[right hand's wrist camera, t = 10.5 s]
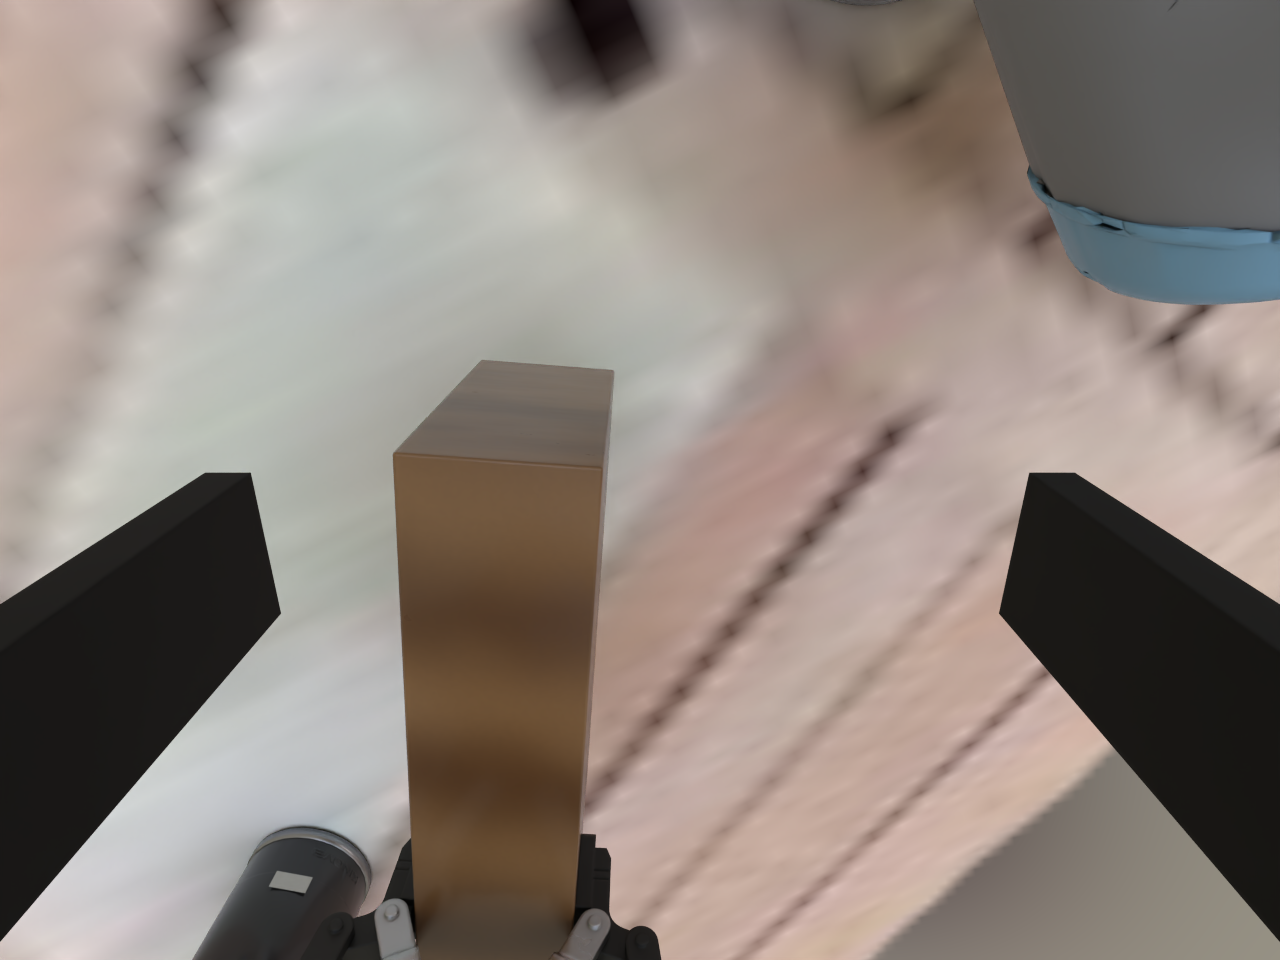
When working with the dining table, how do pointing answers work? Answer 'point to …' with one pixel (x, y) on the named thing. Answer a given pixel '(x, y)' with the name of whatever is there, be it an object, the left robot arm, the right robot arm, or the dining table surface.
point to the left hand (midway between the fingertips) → (511, 845)
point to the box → (501, 651)
